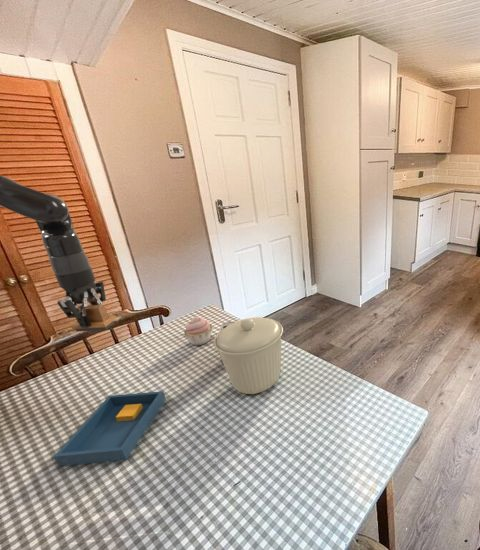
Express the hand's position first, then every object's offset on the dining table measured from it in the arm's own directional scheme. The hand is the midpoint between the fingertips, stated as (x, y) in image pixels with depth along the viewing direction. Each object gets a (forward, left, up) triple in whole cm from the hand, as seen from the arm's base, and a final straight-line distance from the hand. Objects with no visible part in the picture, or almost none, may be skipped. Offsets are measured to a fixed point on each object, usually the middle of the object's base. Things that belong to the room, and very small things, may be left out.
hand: (93, 321), depth 90 cm
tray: (+18, -26, -17) cm, 35 cm away
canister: (+48, -12, -17) cm, 52 cm away
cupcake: (+23, +12, -17) cm, 31 cm away
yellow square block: (+18, -21, -16) cm, 32 cm away
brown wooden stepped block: (0, 0, -2) cm, 2 cm away
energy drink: (+38, +1, -17) cm, 41 cm away
